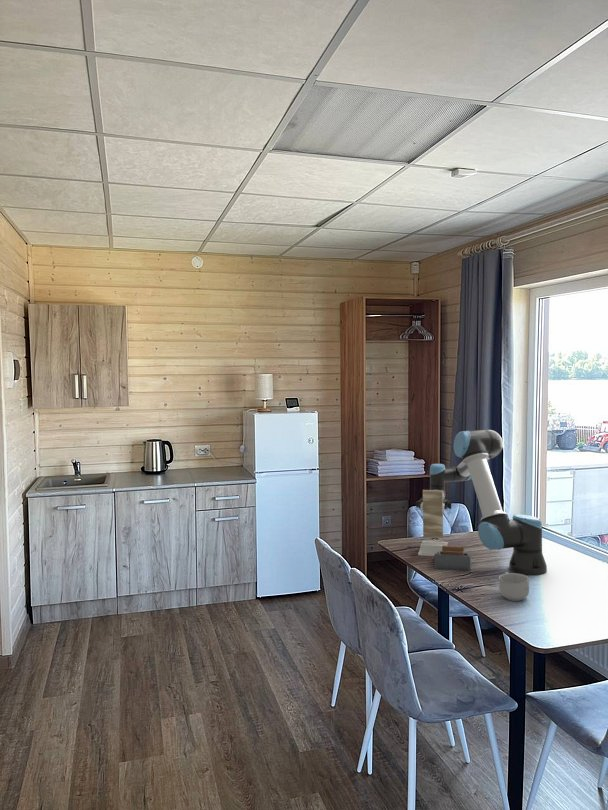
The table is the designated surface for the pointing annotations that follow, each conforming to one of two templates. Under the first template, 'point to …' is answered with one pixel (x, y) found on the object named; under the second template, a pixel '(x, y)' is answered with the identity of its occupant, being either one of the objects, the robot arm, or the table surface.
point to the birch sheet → (432, 513)
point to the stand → (431, 548)
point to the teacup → (514, 586)
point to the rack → (452, 561)
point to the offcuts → (453, 550)
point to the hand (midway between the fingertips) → (432, 508)
